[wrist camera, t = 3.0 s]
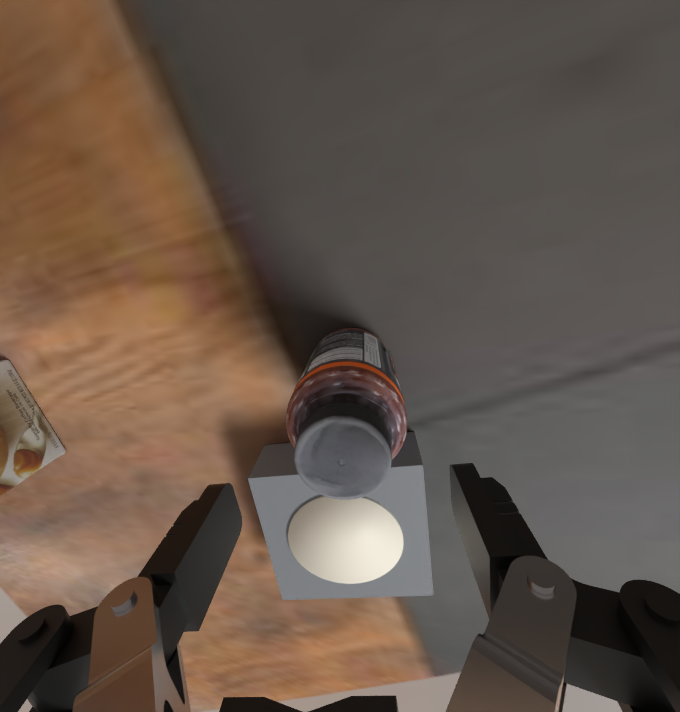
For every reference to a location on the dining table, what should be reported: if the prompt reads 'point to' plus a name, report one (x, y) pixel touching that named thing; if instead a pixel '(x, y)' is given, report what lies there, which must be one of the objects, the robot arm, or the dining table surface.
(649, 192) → the dining table surface
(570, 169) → the dining table surface
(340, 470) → the supplement bottle
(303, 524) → the base block
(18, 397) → the coffee box
